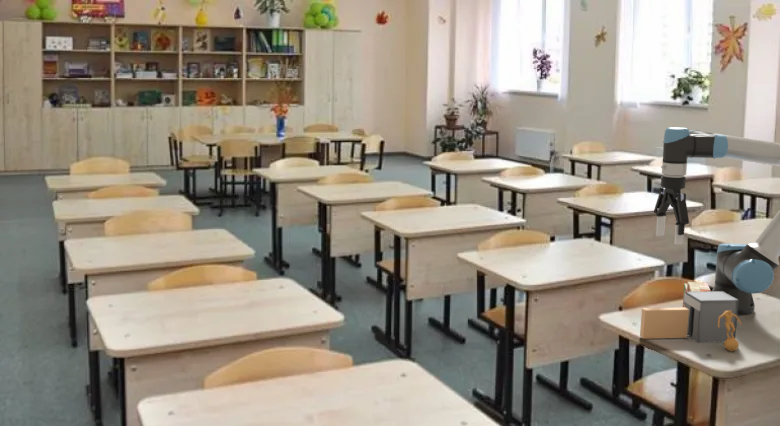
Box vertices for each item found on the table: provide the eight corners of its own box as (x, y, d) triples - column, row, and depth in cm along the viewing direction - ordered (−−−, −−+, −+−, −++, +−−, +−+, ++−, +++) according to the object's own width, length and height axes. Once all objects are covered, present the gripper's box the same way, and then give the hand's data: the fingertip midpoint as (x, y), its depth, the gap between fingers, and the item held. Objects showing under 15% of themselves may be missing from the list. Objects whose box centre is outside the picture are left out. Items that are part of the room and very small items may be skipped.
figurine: (723, 354, 247) (726, 314, 245) (710, 347, 253) (713, 308, 251) (747, 351, 250) (750, 312, 248) (733, 345, 255) (737, 307, 253)
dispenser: (718, 331, 268) (722, 291, 266) (734, 341, 259) (738, 300, 256) (681, 332, 267) (684, 291, 265) (696, 342, 257) (699, 300, 255)
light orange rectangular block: (683, 335, 263) (685, 307, 261) (686, 337, 261) (689, 309, 259) (639, 336, 262) (641, 308, 260) (643, 338, 259) (645, 310, 258)
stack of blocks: (681, 309, 292) (684, 274, 290) (701, 310, 291) (704, 275, 289) (688, 327, 272) (691, 290, 270) (708, 329, 270) (711, 292, 268)
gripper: (646, 170, 284) (642, 232, 288) (680, 181, 260) (675, 248, 264) (667, 170, 285) (663, 232, 289) (703, 181, 261) (698, 248, 265)
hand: (669, 240), depth 276 cm, fingers open, 13 cm apart
